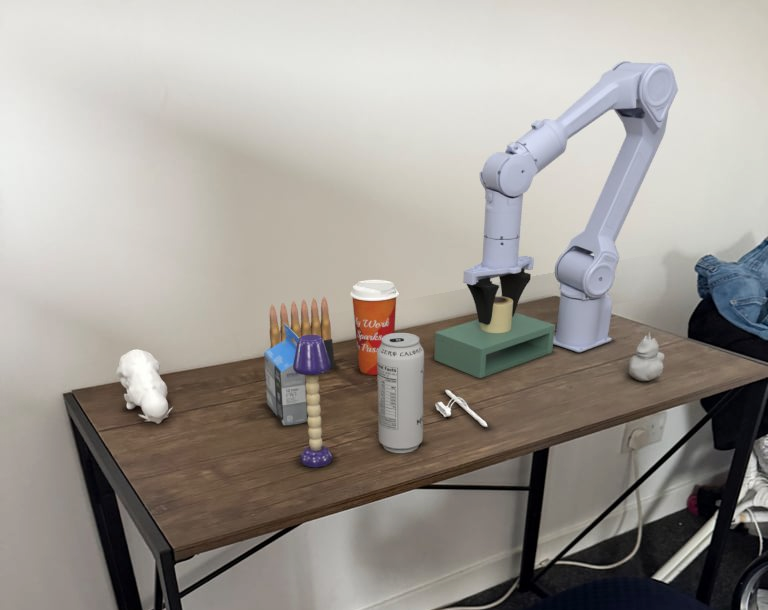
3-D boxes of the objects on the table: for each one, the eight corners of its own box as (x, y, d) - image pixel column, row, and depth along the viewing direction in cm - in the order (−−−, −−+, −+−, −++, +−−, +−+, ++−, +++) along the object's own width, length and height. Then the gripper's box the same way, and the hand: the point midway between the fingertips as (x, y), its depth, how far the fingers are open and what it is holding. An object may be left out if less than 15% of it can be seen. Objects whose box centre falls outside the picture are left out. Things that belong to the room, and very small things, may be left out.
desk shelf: (505, 336, 140) (507, 310, 137) (552, 352, 132) (555, 324, 130) (434, 360, 130) (434, 332, 128) (479, 378, 123) (481, 349, 120)
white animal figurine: (153, 341, 114) (175, 374, 106) (161, 391, 119) (183, 427, 111) (110, 349, 112) (129, 383, 103) (120, 400, 117) (140, 436, 109)
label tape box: (266, 404, 116) (258, 325, 109) (292, 399, 117) (285, 321, 110) (283, 427, 109) (275, 344, 102) (310, 422, 110) (304, 340, 103)
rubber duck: (617, 377, 123) (625, 329, 118) (646, 369, 125) (654, 321, 121) (643, 388, 119) (652, 339, 114) (672, 379, 121) (681, 331, 117)
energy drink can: (428, 451, 102) (430, 344, 94) (386, 458, 100) (384, 349, 92) (414, 432, 107) (415, 329, 99) (373, 438, 105) (371, 334, 97)
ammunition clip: (330, 364, 129) (327, 294, 123) (335, 368, 128) (331, 297, 121) (271, 375, 125) (264, 304, 119) (275, 379, 124) (268, 307, 117)
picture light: (489, 428, 107) (490, 414, 106) (461, 433, 106) (462, 419, 105) (447, 392, 118) (448, 379, 117) (422, 396, 117) (422, 383, 116)
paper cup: (345, 373, 125) (341, 289, 118) (364, 358, 131) (361, 276, 124) (389, 380, 123) (388, 294, 115) (406, 363, 129) (406, 281, 121)
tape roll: (495, 321, 132) (497, 293, 129) (517, 328, 128) (519, 299, 126) (474, 328, 129) (475, 299, 126) (496, 335, 126) (498, 306, 123)
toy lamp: (300, 451, 102) (290, 332, 93) (335, 450, 102) (328, 330, 94) (300, 469, 98) (290, 345, 89) (336, 467, 98) (329, 343, 89)
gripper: (488, 247, 114) (482, 334, 121) (551, 233, 122) (542, 315, 129) (455, 239, 119) (452, 324, 126) (518, 226, 126) (511, 306, 134)
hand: (496, 319), depth 128 cm, fingers closed on tape roll, 5 cm apart
